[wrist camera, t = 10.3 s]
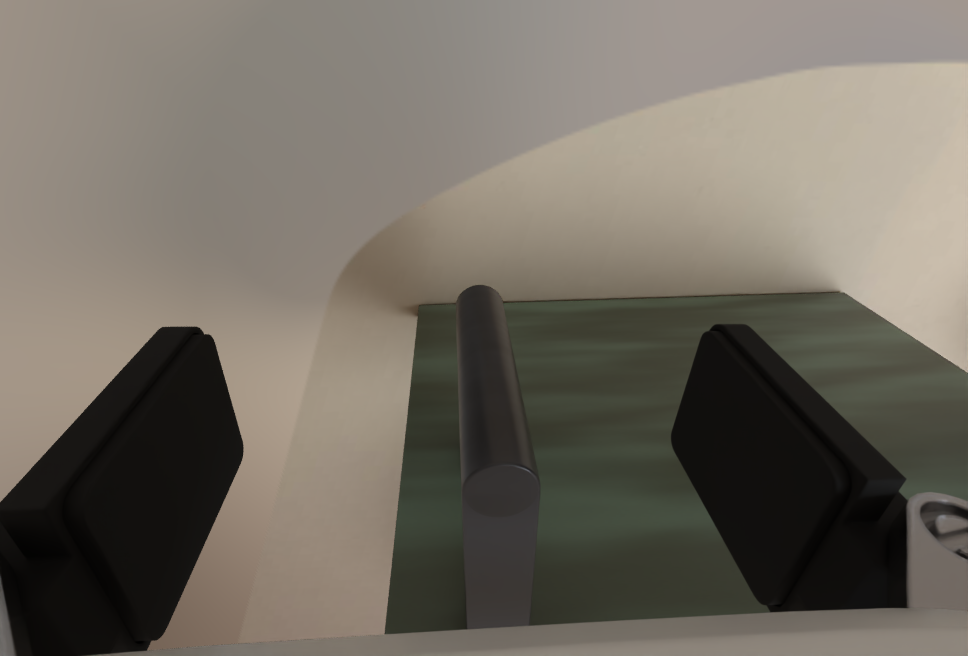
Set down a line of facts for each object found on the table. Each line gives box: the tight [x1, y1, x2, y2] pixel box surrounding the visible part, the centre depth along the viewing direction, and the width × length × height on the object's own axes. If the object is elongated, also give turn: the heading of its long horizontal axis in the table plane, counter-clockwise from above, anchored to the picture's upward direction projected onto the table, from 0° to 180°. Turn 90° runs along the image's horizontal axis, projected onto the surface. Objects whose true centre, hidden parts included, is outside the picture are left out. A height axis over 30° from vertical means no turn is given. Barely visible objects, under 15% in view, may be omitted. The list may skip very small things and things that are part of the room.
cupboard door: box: [385, 285, 968, 634], centre depth 20 cm, size 8×26×20 cm, turn 90°
